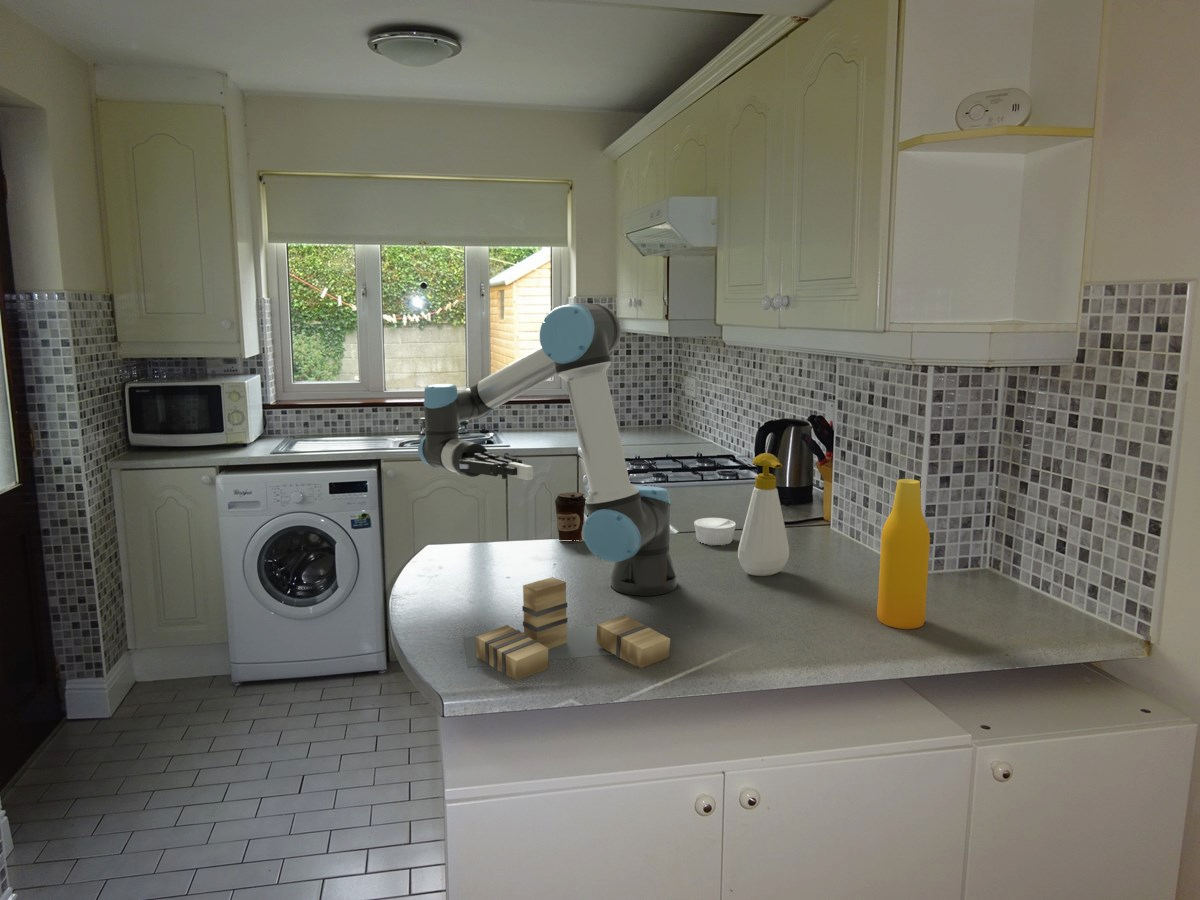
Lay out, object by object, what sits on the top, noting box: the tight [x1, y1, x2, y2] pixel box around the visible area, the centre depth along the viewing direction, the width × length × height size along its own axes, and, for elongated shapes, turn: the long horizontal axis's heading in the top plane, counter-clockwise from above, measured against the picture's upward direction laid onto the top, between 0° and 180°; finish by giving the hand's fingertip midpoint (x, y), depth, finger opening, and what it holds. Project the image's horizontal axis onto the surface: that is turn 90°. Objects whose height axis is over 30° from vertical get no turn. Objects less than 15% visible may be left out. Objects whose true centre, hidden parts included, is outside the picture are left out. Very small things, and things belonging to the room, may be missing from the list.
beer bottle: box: [876, 478, 931, 630], centre depth 169 cm, size 9×9×29 cm
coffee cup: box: [554, 491, 587, 544], centre depth 230 cm, size 9×8×13 cm
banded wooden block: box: [596, 614, 671, 669], centre depth 156 cm, size 4×7×12 cm
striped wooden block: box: [475, 624, 549, 681], centre depth 151 cm, size 4×7×12 cm
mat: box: [463, 625, 614, 668], centre depth 160 cm, size 30×14×1 cm, turn 102°
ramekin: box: [693, 517, 737, 546], centre depth 229 cm, size 11×11×5 cm
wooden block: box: [521, 576, 569, 649], centre depth 159 cm, size 4×7×12 cm, turn 132°
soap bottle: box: [737, 452, 790, 577], centre depth 199 cm, size 13×10×29 cm
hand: (530, 473), depth 171 cm, fingers closed
